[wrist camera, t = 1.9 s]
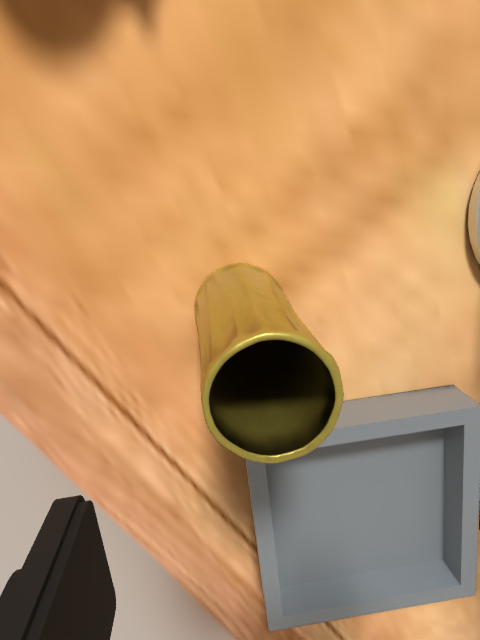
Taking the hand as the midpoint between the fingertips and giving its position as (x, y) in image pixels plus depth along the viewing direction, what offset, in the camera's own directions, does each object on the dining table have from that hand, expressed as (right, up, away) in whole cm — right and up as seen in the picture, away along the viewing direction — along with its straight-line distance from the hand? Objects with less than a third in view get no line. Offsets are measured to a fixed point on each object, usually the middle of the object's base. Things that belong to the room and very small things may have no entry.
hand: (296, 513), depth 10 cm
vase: (-1, +5, +19) cm, 20 cm away
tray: (+7, -9, +24) cm, 27 cm away
